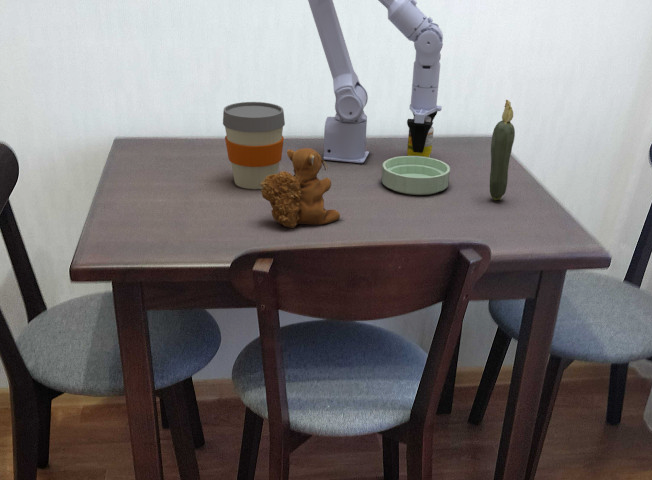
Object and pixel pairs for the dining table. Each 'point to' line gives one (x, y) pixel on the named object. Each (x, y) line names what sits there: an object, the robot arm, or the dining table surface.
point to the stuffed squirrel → (299, 191)
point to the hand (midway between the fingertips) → (419, 147)
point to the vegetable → (501, 153)
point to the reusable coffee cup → (253, 141)
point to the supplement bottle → (428, 143)
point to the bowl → (415, 175)
